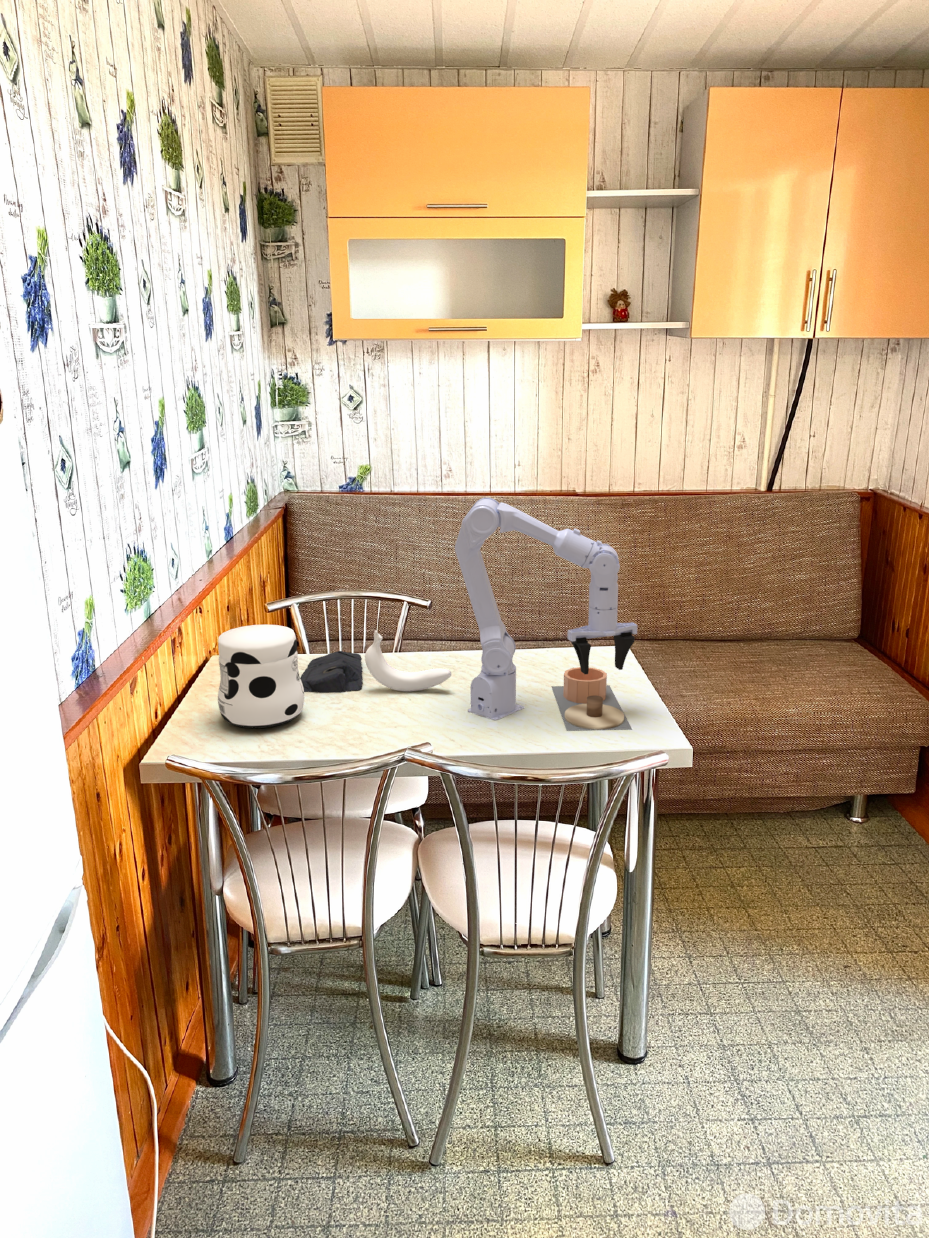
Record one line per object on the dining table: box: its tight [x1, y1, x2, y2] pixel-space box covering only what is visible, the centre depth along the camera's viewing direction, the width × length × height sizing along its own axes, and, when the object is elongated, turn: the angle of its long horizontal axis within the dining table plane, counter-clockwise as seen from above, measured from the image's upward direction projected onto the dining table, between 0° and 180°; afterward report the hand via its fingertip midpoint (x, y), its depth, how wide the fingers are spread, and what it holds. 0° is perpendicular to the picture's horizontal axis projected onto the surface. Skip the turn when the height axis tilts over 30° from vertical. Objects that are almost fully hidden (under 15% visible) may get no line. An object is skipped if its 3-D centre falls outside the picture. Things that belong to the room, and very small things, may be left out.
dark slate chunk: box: [300, 650, 364, 694], centre depth 215 cm, size 15×22×5 cm
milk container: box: [217, 624, 305, 729], centre depth 189 cm, size 17×17×18 cm
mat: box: [551, 684, 633, 732], centre depth 195 cm, size 25×13×1 cm, turn 2°
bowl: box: [563, 666, 608, 704], centre depth 200 cm, size 9×9×5 cm
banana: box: [364, 630, 452, 692], centre depth 204 cm, size 5×19×15 cm, turn 90°
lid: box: [565, 695, 625, 731], centre depth 188 cm, size 12×12×4 cm
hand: (601, 670), depth 189 cm, fingers open, 7 cm apart
